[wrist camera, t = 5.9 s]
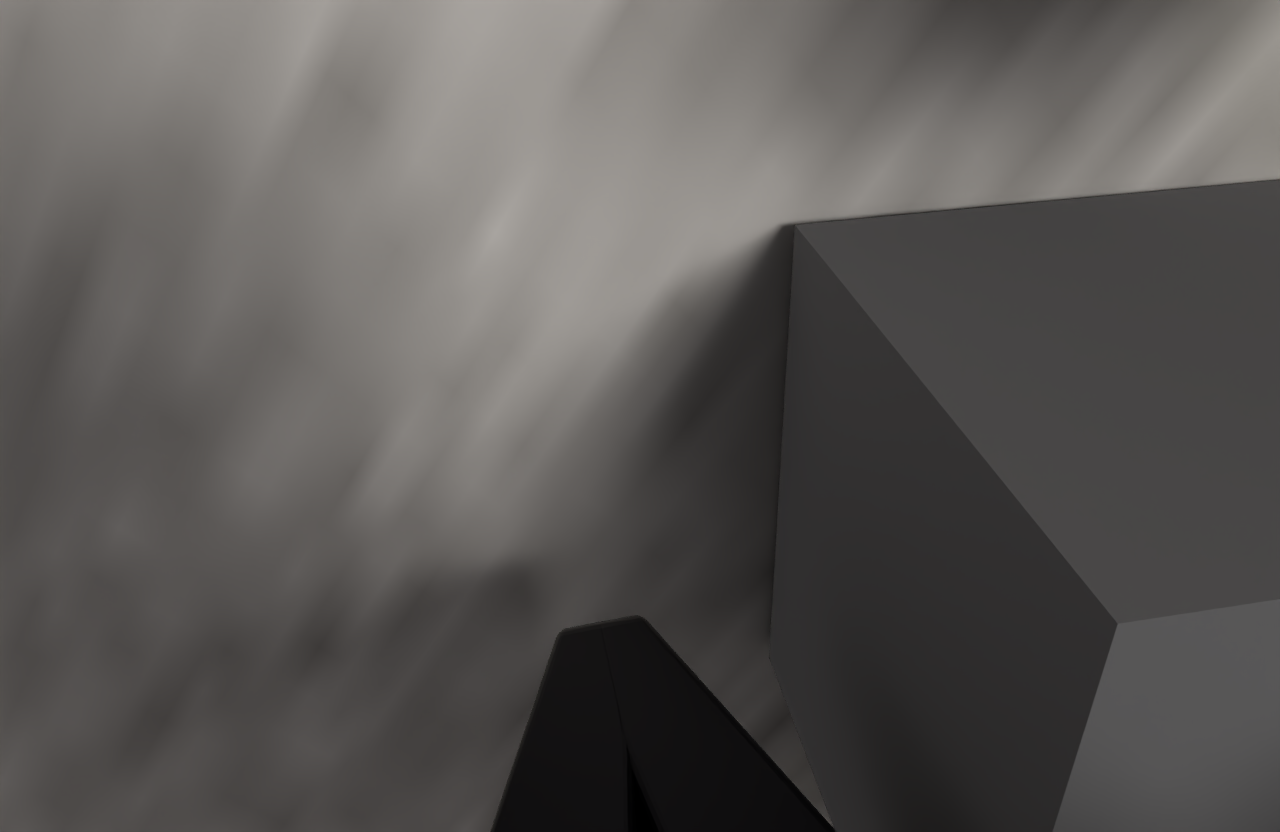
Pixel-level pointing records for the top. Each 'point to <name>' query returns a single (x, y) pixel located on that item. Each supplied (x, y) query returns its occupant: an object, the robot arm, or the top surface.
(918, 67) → the top surface
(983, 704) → the dark grey stepped block
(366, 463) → the top surface
